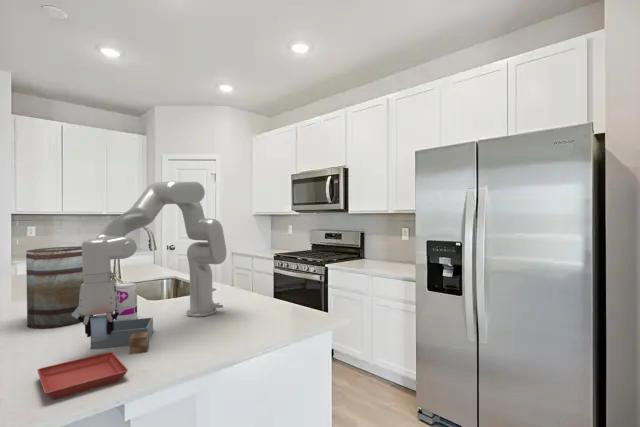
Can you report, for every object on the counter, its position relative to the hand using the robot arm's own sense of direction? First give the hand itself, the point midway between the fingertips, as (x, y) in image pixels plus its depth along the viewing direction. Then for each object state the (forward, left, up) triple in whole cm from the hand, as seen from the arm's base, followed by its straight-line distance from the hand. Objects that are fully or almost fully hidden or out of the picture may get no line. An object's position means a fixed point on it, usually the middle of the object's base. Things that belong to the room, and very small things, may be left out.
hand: (100, 333), depth 114 cm
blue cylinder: (0, 0, -2) cm, 2 cm away
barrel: (+26, -46, -7) cm, 53 cm away
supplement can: (0, -37, -7) cm, 38 cm away
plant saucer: (0, +19, -7) cm, 20 cm away
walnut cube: (-11, +1, -7) cm, 13 cm away
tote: (-4, -12, -6) cm, 15 cm away
